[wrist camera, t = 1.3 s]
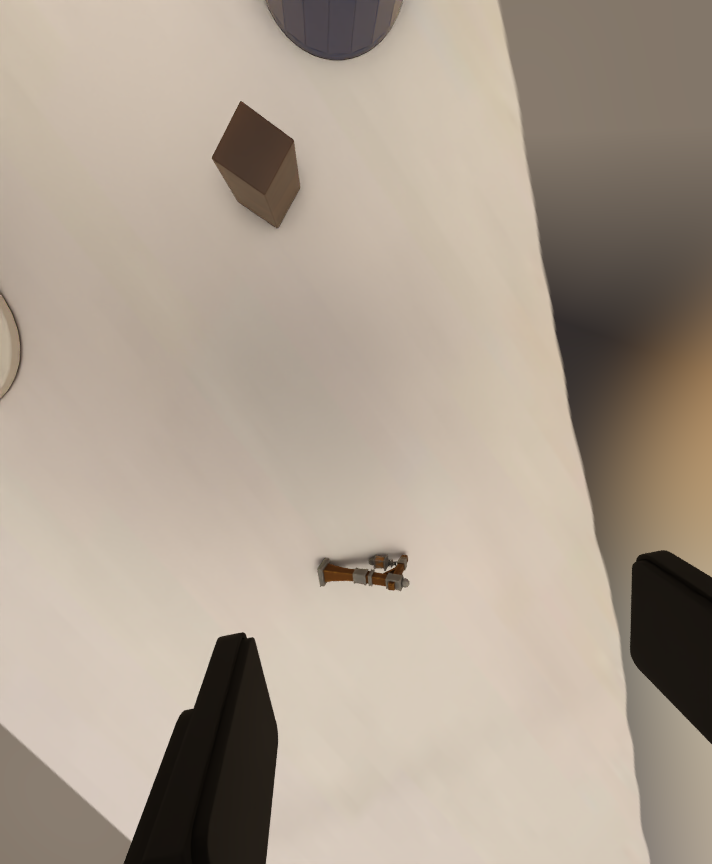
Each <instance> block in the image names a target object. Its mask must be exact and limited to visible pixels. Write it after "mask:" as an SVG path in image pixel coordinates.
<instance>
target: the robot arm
mask: <svg viewBox="0 0 712 864" xmlns="http://www.w3.org/2000/svg"><path fill="white" fill-rule="evenodd" d="M19 359H20V342H19V336H18V330H17V327H16V324H15V321H14V318H13V315H12V313H11V311H10V309H9V307H8V306H7V304H6V302H5V300H4V299H3V297H2V296H1V294H0V398H1V397H2V396H3V395H4V394H5V393H6V392H7V390H8V389H9V387H10V386H11V384H12V382H13V380H14V378H15V376H16V372H17V369H18V365H19ZM630 653H631V657H632V659H633V661H634V663H635V665H636V666H637V667H638V669H639V670H640V671H641V672H642V673H643V674H644V675H645V676H646V677H647V678H648V679H649V680H650V681H651V682H652V683H653V684H654V685H655V686H656V687H657V688H658V689H659V690H660V691H661V692H662V693H663V694H664V696H666V698H668V699H669V701H670V702H671V703H672V704H673V705H674V706H675V707H676V708H677V709H678V710H679V711H680V712H681V713H682V714H683V715H684V716H685V717H686V718H687V719H688V720H689V721H690V722H691V723H692V724H693V725H694V726H695V727H696V728H697V729H698V730H699V731H700V732H701V734H702V735H704V737H705V738H706V739H707V740H708V741H709V742H710V743H711V744H712V577H710V576H709V575H707V574H705V573H704V572H702V571H700V570H699V569H697V568H695V567H694V566H692V565H691V564H688V563H687V562H686V561H684V560H682V559H681V558H679V557H677V556H675V555H674V554H672V553H670V552H668V551H664V550H663V551H662V550H661V551H656V552H651V553H646V554H642V555H639V556H638V558H637V560H636V562H635V563H634V564H633V566H632V595H631V638H630ZM277 748H278V730H277V724H276V720H275V716H274V712H273V709H272V705H271V701H270V697H269V693H268V689H267V685H266V681H265V677H264V674H263V670H262V666H261V662H260V658H259V654H258V650H257V646H256V642H255V639H254V638H253V637H252V638H247V637H246V634H245V633H243V632H242V633H237V634H232V635H227V636H222V637H219V638H218V640H217V642H216V645H215V647H214V650H213V653H212V656H211V659H210V662H209V665H208V668H207V671H206V674H205V677H204V680H203V683H202V686H201V689H200V691H199V694H198V697H197V700H196V703H195V706H194V709H189V710H185V711H183V712H182V713H181V715H180V716H179V718H178V720H177V722H176V725H175V728H174V730H173V733H172V736H171V738H170V741H169V744H168V746H167V749H166V752H165V754H164V757H163V760H162V762H161V765H160V768H159V770H158V773H157V776H156V779H155V781H154V784H153V787H152V789H151V792H150V795H149V797H148V800H147V803H146V805H145V808H144V811H143V813H142V816H141V819H140V821H139V824H138V827H137V829H136V832H135V835H134V837H133V840H132V843H131V845H130V848H129V851H128V853H127V856H126V859H125V861H124V864H266V856H267V846H268V836H269V827H270V817H271V807H272V797H273V788H274V778H275V768H276V758H277Z"/></svg>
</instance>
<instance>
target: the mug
mask: <svg viewBox="0 0 712 864" xmlns="http://www.w3.org/2000/svg"><path fill="white" fill-rule="evenodd" d="M402 1H403V0H266V3H267V5H268V8H269V10H270V12H271V14H272V16H273V17H274V19H275V21H276V22H277V24H278V25H279V27H280V28H281V29H282V31H283V32H284V33H285V34H286V35H287V36H288V37H289V38H290V39H291V40H292V41H293V42H294V43H295V44H296V45H298V46H299V47H301V48H302V49H303V50H305V51H307V52H309V53H311V54H313V55H316V56H318V57H321V58H326V59H331V60H343V59H350V58H353V57H357V56H359V55H362V54H364V53H366V52H367V51H369V50H370V49H372V48H373V47H375V46H376V45H377V44H378V43H379V42H380V41H381V40H382V39H383V38H384V37H385V36H386V34H387V33H388V32H389V30H390V29H391V27H392V26H393V24H394V22H395V20H396V18H397V16H398V13H399V10H400V7H401V5H402Z"/></svg>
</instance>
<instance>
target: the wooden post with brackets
mask: <svg viewBox="0 0 712 864" xmlns="http://www.w3.org/2000/svg"><path fill="white" fill-rule="evenodd" d="M396 562H397V565H396ZM396 562H393V559H392V560H391V561H390V560H389V559H388V556H387V555H386V556H385V557H381V556H377V555H375V557H374V558H371V559H370V560H369V564H371V565H374V569H376V568H384V571H386V569H387V567H388V566H390V565H391V568H392V566H393V565H395V566H396V567H395V568H393V569H391V570H389V571H387V572H385V573H383V574H382V573H376V572H374V570H372V569H371V571H368V569H359V568H356V569H348V568H344V567H339V566H335V565H332V564H330V562H329V559H326V558H325V559H324V561H323V562H322V563H321V565H320V566H319V568H318V569H317V570H318V576H319V583H320V587H321V586H325V584H326V583H327V582H330V581H354V583H359V584H364V585H366V584H367V583H368V584H369V586H372V585H373V584H375V585H381V586H386V589H388V590H399V591H401V590H402V588H403V587H408V586H409V581H408V579H406V578H404V579H403V575H402V573H403V571H404V570H405V569H406V567H407V562H408V556H407V555H402V556H401V557H400V558H399V560H398V561H396Z"/></svg>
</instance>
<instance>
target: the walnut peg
mask: <svg viewBox="0 0 712 864" xmlns="http://www.w3.org/2000/svg"><path fill="white" fill-rule="evenodd" d="M212 159H213V161H214V163H215V164H216V166H217V168H218V169H219V171H220V173H221V174H222V176H223V178H224V179H225V181H226V183H227V184H228V186H229V188H230V189H231V191H232V193H233V194H234V196H235V198H236V199H237V201H238V202H239V203H241V204H242V205H244V206H245V207H247V208H248V209H249V210H251V211H252V212H254V213H255V214H257V215H258V216H260V217H261V218H263V219H264V220H266V221H267V222H268V223H270V224H271V225H273V226H274V227H276V228H278V227H279V225H280V224H281V222H282V220H283V218H284V216H285V215H286V213H287V211H288V209H289V207H290V205H291V204H292V202H293V200H294V198H295V196H296V194H297V193H298V191H299V189H300V182H299V174H298V167H297V160H296V152H295V145H294V140H293V139H292V138H290V137H289V136H288V135H286V134H285V133H284V132H282V131H281V130H280V129H278V128H277V127H276V126H274V125H273V124H271V123H270V122H269V121H267V120H266V119H265V118H263V117H262V116H261V115H259V114H258V113H257V112H255V111H254V110H253V109H251V108H250V107H249V106H247V105H246V104H244V103H243V102H242V101H240V103H239V105H238V107H237V109H236V111H235V113H234V115H233V117H232V119H231V121H230V123H229V125H228V127H227V129H226V131H225V133H224V135H223V137H222V139H221V141H220V143H219V144H218V146H217V148H216V150H215V152H214V154H213V156H212Z"/></svg>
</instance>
